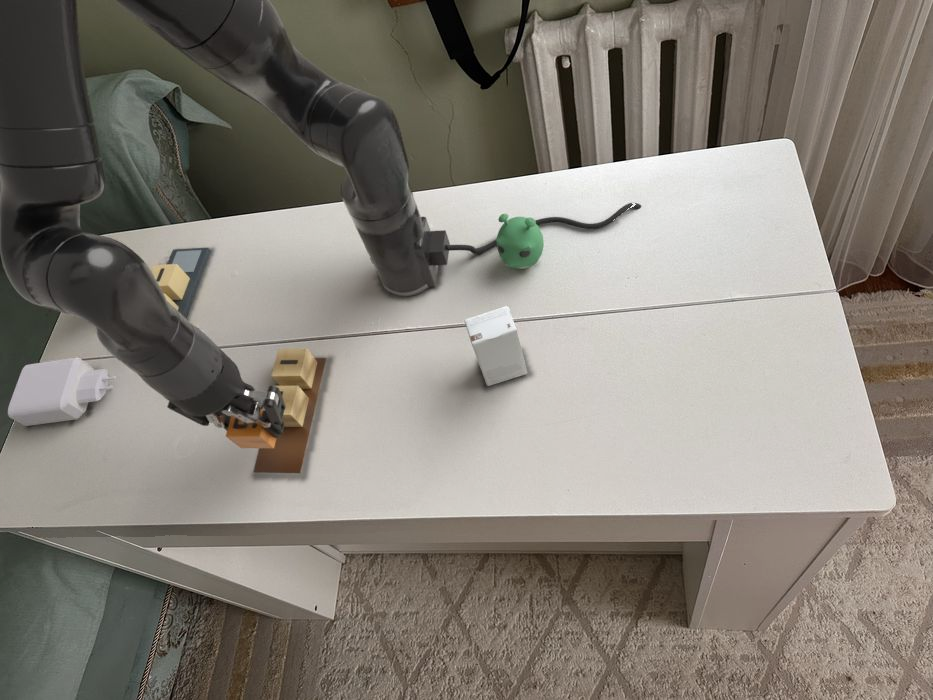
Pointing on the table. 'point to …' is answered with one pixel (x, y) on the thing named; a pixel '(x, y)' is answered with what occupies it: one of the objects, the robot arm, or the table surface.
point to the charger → (56, 391)
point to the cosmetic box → (496, 345)
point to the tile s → (249, 434)
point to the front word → (293, 409)
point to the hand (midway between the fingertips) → (260, 430)
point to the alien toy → (519, 242)
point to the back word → (181, 276)
